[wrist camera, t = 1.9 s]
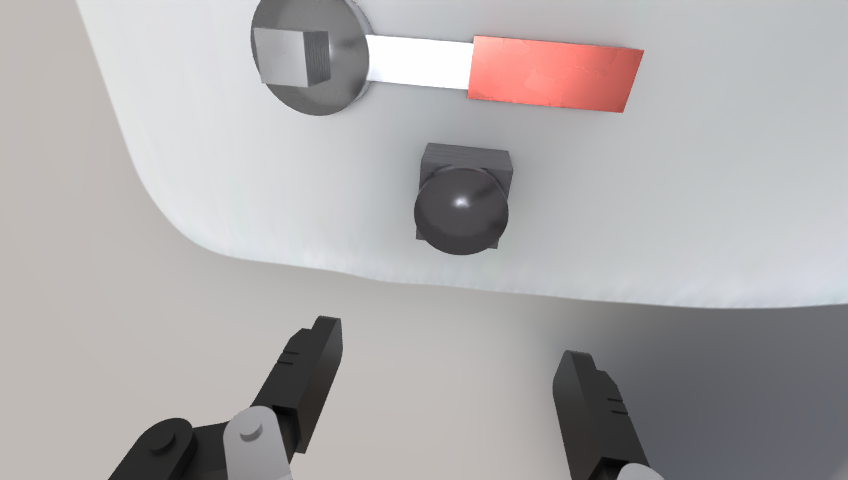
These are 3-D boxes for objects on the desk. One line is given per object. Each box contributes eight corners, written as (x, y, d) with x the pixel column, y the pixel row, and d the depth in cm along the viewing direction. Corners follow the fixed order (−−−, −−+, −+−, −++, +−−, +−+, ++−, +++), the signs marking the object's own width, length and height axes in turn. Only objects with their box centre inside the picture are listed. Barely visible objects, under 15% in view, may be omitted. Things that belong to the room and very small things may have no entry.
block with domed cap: (509, 149, 25) (517, 176, 20) (495, 222, 28) (499, 260, 23) (426, 141, 25) (416, 166, 21) (421, 214, 28) (411, 249, 24)
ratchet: (639, 9, 20) (695, 3, 15) (599, 134, 24) (633, 164, 19) (263, -20, 22) (197, -34, 16) (279, 103, 25) (229, 122, 20)
